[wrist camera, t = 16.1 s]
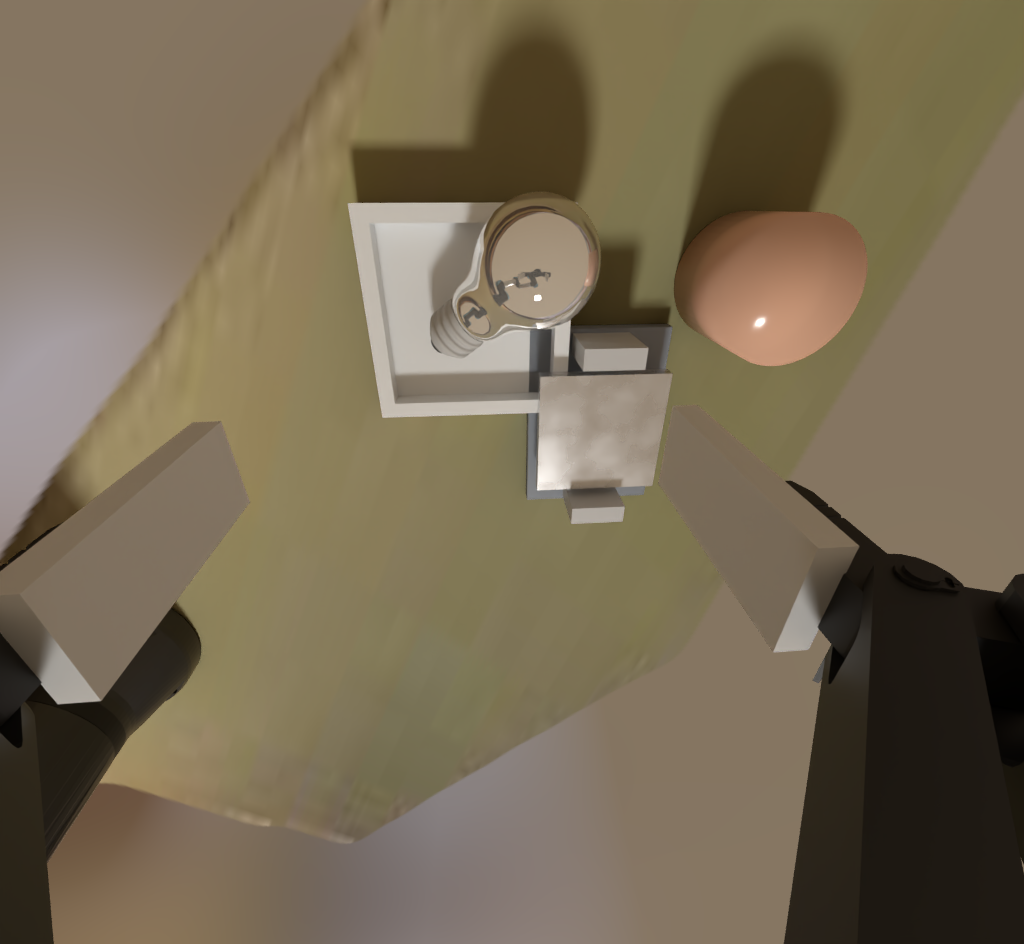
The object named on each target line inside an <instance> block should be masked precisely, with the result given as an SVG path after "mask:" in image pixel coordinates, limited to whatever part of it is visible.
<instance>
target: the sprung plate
mask: <svg viewBox="0 0 1024 944" xmlns="http://www.w3.org/2000/svg"><path fill="white" fill-rule="evenodd" d="M672 374H673V373H671V372H670V371H669V370H668V369H645V370H621V371H566V372H539V382H538V419H537V455H536V487H537V490H560V489H585V488H610V487H634V486H652V484H653V478H654V473H655V467H656V462H657V456H658V451H659V445H660V440H661V434H662V429H663V423H664V418H665V412H666V407H667V401H668V396H669V391H670V385H671V380H672Z"/></svg>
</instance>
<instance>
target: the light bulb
mask: <svg viewBox="0 0 1024 944" xmlns="http://www.w3.org/2000/svg"><path fill="white" fill-rule="evenodd" d="M601 261H602V260H601V245H600V241H599V236H598V233H597V231H596V229H595V226H594V225H593V223H592V221H591V219H590V218H589V216H588V215H587V214H586V212H585V211H584V210H583V209H582V208H581V207H580V206H579V205H577V204H576V203H575V202H574V201H572V200H570V199H568V198H566V197H564V196H562V195H559V194H555V193H552V192H529V193H524V194H520V195H518V196H516V197H514V198H511V199H509V200H508V201H506V202H505V203H504V204H502V205H501V206H500V207H499V208H497V209H496V210H495V211H494V212H493V213H492V215H491V216H490V217H489V218H488V219H487V220H486V222H485V224H484V225H483V227H482V229H481V231H480V233H479V236H478V239H477V242H476V245H475V248H474V251H473V255H472V259H471V263H470V266H469V269H468V272H467V274H466V276H465V277H464V278H463V280H462V281H461V282H460V283H459V285H458V286H457V288H456V289H455V292H454V294H453V298H452V299H449V300H448V301H447V302H446V303H445V304H444V305H442V306H441V307H440V308H439V309H438V310H437V311H435V312H434V313H433V315H432V316H431V319H430V337H431V344H432V346H433V347H434V349H435V350H436V351H437V352H439V353H443V354H445V355H447V356H451V357H455V358H460V359H461V358H465V357H467V356H468V355H469V354H470V353H472V352H473V351H475V349H476V348H478V347H480V346H481V345H482V344H483V342H488V341H493V340H496V339H499V338H500V337H502V336H504V335H507V334H509V333H514V332H538V331H545V330H549V329H553V328H556V327H559V326H561V325H562V324H564V323H566V322H568V321H569V320H571V319H572V318H573V317H574V316H575V315H577V314H578V313H579V312H580V311H581V310H582V309H583V307H584V306H585V305H586V304H587V302H588V301H589V299H590V298H591V296H592V294H593V292H594V290H595V288H596V285H597V282H598V278H599V275H600V269H601Z"/></svg>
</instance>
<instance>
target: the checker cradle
mask: <svg viewBox="0 0 1024 944" xmlns="http://www.w3.org/2000/svg"><path fill="white" fill-rule="evenodd" d="M551 330H552V329H551ZM551 330H549V331H550V333H548V330H547V331H546V330H545V331H543V332H544V333H546V334H548V335H549V336H548V335H546V334H544V333H543V332H542V331H538V333H537V332H536V333H537V334H536V333H535V332H530V335H533V334H534V335H533V336H530V339H531V340H530V345H531V346H532V347H531V346H530V352H532V353H529V355H530V357H531V359H530V360H529V366H530V367H531V366H532V368H530V367H529V371H530V372H529V380H530V381H529V383H531V384H529V386H531V388H529V389H530V390H531V389H532V388H533V390H531V391H533V392H535V391H536V390H538V388H536V387H538V386H537V385H536V384H534V382H535V383H538V382H537V381H539V378H537V377H536V378H535V376H537V375H536V374H535V372H536V373H537V372H538V374H539V372H546V371H547V372H549V371H550V370H547V369H550V365H549V364H550V361H549V360H550V357H551V351H550V350H549V348H550V349H551V347H550V346H551V343H550V342H551V340H550V339H551V335H550V334H551V332H552V331H551ZM539 332H540V334H542V335H543V336H545V338H544V337H543V336H542V338H543V339H542V338H541V335H540V334H539ZM671 333H672V326H670V325H669V324H630V325H580V326H570V341H569V358H568V371H621V370H645V369H665V368H666V362H667V356H668V351H669V345H670V339H671ZM535 334H536V336H535ZM538 334H539V335H538ZM537 336H538V337H537ZM531 337H535V338H536V339H538V341H537V340H536V339H534V338H533V340H532V338H531ZM547 337H548V338H549V339H547ZM534 340H535V341H534ZM539 340H540V341H541V340H542V341H543V342H544V344H546V343H547V344H546V345H544V344H543V346H542V343H543V342H542V341H541V342H540V341H539ZM536 341H537V342H538V343H537V342H536ZM546 341H547V342H546ZM548 341H549V343H548ZM532 343H533V344H534V345H532ZM539 344H541V345H539ZM535 345H537V346H538V347H536V346H535ZM547 345H549V346H547ZM544 346H545V347H544ZM546 346H547V348H546ZM533 347H534V348H535V349H534V348H533ZM539 347H540V348H539ZM543 347H544V348H543ZM531 348H532V349H533V350H532V349H531ZM541 348H542V349H541ZM538 349H539V351H536V350H538ZM543 349H545V351H544V350H543ZM547 349H548V350H547ZM531 350H532V351H531ZM534 350H535V351H534ZM546 350H547V352H546ZM533 351H534V352H533ZM541 351H542V353H541ZM548 351H549V353H550V354H549V353H548ZM534 353H535V354H534ZM543 353H545V354H547V353H548V355H544V354H543ZM533 354H534V356H533ZM539 354H540V355H542V357H543V356H544V357H543V358H542V357H541V356H540V355H539ZM536 356H537V357H539V359H538V358H537V357H536ZM545 356H546V358H548V359H545ZM549 356H550V357H549ZM530 357H529V358H530ZM532 357H533V358H535V359H534V360H533V359H532ZM536 359H537V360H536ZM543 359H544V360H546V361H544V360H543ZM538 360H539V361H538ZM535 361H536V362H535ZM540 361H542V362H540ZM547 361H548V362H549V363H548V362H547ZM532 362H533V363H532ZM538 362H539V363H540V365H541V366H543V367H541V366H540V365H538V364H539V363H538ZM531 363H532V364H531ZM537 363H538V364H537ZM533 364H534V365H535V366H534V365H533ZM545 364H547V365H548V366H549V367H547V369H545V368H544V366H545ZM547 365H546V366H547ZM546 366H545V367H546ZM535 368H536V370H535V371H534V370H533V369H535ZM537 368H538V369H537ZM530 369H531V370H530ZM543 369H544V370H543ZM532 370H533V371H534V372H532ZM538 370H539V371H538ZM545 370H546V371H545ZM531 373H532V375H531ZM533 375H534V377H533ZM530 376H531V377H532V378H531V377H530ZM538 377H539V376H538ZM533 378H534V379H536V380H535V381H534V380H533ZM532 380H533V382H532ZM532 385H533V386H536V387H535V388H534V387H533V386H532ZM534 389H535V390H534ZM530 390H529V392H531V391H530ZM536 392H537V391H536ZM537 419H538V413H527V458H526V496H527V499H551V498H564V501H565V505H566V508H567V511H568V515H569V518H570V521H571V524H579V523H601V522H623V515H624V508H625V506H624V504H623V502H622V500H621V498H620V496H623V495H644V489H645V486H634V487H610V488H585V489H560V490H537V487H536V455H537Z"/></svg>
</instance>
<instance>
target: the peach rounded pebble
mask: <svg viewBox="0 0 1024 944" xmlns="http://www.w3.org/2000/svg"><path fill="white" fill-rule="evenodd" d="M866 276H867V254H866V249H865V245H864V243H863V240H862V238H861V236H860V234H859V233H858V231H857V230H856V229H855V228H854V227H853V226H852V224H850V223H849V222H848V221H846V220H845V219H843V218H841V217H839V216H837V215H833V214H829V213H821V212H785V211H738V212H734V213H730V214H727V215H725V216H722V217H720V218H718V219H716V220H715V221H713V222H712V223H710V224H709V225H707V226H706V227H705V228H704V229H703V230H702V231H700V232H699V233H698V235H697V236H696V237H695V238H694V239H693V240H692V242H691V243H690V244H689V246H688V247H687V249H686V250H685V252H684V254H683V256H682V258H681V260H680V262H679V265H678V268H677V272H676V276H675V282H674V297H675V303H676V307H677V310H678V312H679V314H680V316H681V318H682V319H683V321H684V322H685V323H686V324H687V325H688V326H689V327H690V328H692V329H693V330H694V331H696V332H698V333H700V334H701V335H703V336H705V337H707V338H708V339H710V340H712V341H714V342H715V343H717V344H719V345H720V346H722V347H724V348H726V349H727V350H729V351H731V352H733V353H734V354H736V355H738V356H740V357H741V358H743V359H745V360H747V361H749V362H751V363H754V364H758V365H763V366H778V365H784V364H789V363H792V362H795V361H798V360H800V359H803V358H805V357H807V356H809V355H810V354H812V353H814V352H816V351H817V350H818V349H820V348H821V347H823V346H824V345H825V344H826V343H828V342H829V341H830V340H831V339H832V338H833V337H834V336H835V335H836V334H837V333H838V332H839V331H840V330H841V328H842V327H843V326H844V325H845V324H846V322H847V321H848V319H849V318H850V316H851V315H852V313H853V312H854V310H855V308H856V306H857V304H858V302H859V300H860V297H861V295H862V292H863V289H864V285H865V281H866Z"/></svg>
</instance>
